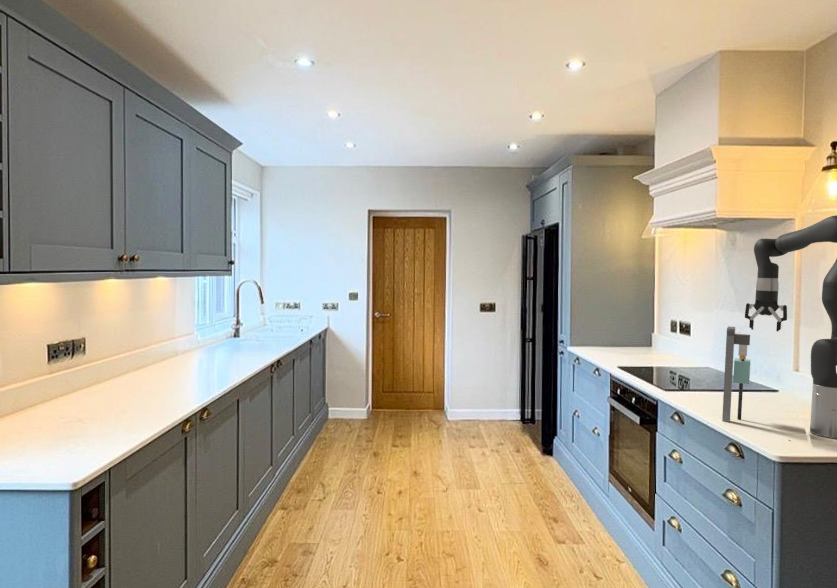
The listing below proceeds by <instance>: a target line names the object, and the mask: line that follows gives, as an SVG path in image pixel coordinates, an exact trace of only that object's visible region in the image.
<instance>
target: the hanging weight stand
mask: <svg viewBox="0 0 837 588" xmlns="http://www.w3.org/2000/svg"><path fill="white" fill-rule="evenodd" d="M725 341H726V342H725V357H724V358H725V359H724V379H723V381H724V382H723V396H722V397H723V399H722V418H721V419H722V422H725V423H731V408H732V394H733V393H732V390H733V375H734V352H735V351H734V350H735V345H738V356H739V358H738V359H741V360H740V361H744V359H746V357H747V355H748V346H750V345H751V344H750V342H751V334H747V333H746V334H744V333H736V326H727V328H726V339H725ZM743 388H744V384H743V383H738V398H737V399H738V400H737V401H738V402H737V403H738V404H737V418H736V419H737V421H742V409H743V408H742V407H743V390H744V389H743Z"/></svg>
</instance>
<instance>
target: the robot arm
mask: <svg viewBox="0 0 837 588" xmlns="http://www.w3.org/2000/svg"><path fill="white" fill-rule="evenodd" d="M816 243H837V215H831V216H828V217H826V218H824V219H822V220H820V221H818V222H816V223H814V224H812V225H809V226H807V227H804V228H801V229H798V230H795V231H791V232H787V233H784V234H781V235H780V236H778V237H777V238H759V239H758V240H756V242H755V244H754V246H753V254H754V258H755V263H756V266H757V276H756V277H757V279H756V284H755V285H756V286H755V301H754V304H753V303H749V302H747V303H746V305H745V309H744V310H745V312H744V318H745V319H747V320H749V326H748V327H749V328H750V329H751V330H753V331H754V324H755V321H754V319H755V318H756V317H758V315H761V316H773V317H774V318H775V319H776V320H777V321H776V332H779V331H780V330H781V329H782V322H784V321H787V320H788V306H787V305H786V304H782V305H779V304H778V303H779V301H778V300H779V298H778V297H779V271H780V270H779V268H780V267H779V265H778V263H775V262H772V261H771V259H770V258H771V257H772V258H773V257H774V258H775V257H781V256H785V255H787V254H788V253H791V252H796V251H800V250H802V249H805V248H807V247H808V246H810V245H812V244H816ZM821 301H822V305H823V307H824V309H825V312H826V314H827V316H828V318H829V321H830V325H831V336H830V338H822V339H821V338H820V339H817V340H816V341H814V343H812V347H811V349H810V375H811V377H812V389H811V390H812V392H811V406H810V407H811V409H810V426H809V432H810V433H811V434H812V435H816V436H820V437H825V438H830V439H837V258H836V259H835V261H834V263H833V264H832V266H831V267H830V269H829V270H828V272H827V274H826V275H825V276H824V279H823V281H822V291H821ZM752 308H754V309H755V312H754V313H752V315H749V313H750V310H751V309H752ZM779 309H780V311H782V317H780V316H779V315H778V314H777V311H778V310H779Z"/></svg>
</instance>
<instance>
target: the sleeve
mask: <svg viewBox="0 0 837 588" xmlns="http://www.w3.org/2000/svg"><path fill="white" fill-rule="evenodd" d="M740 360H741V359H739V358H738V357H735V358H734V359H733V376H732V383H735V384H739V383H743V385H744V384H745V385H750V376H751V375H750V374H751V359H744V361H740Z"/></svg>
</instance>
